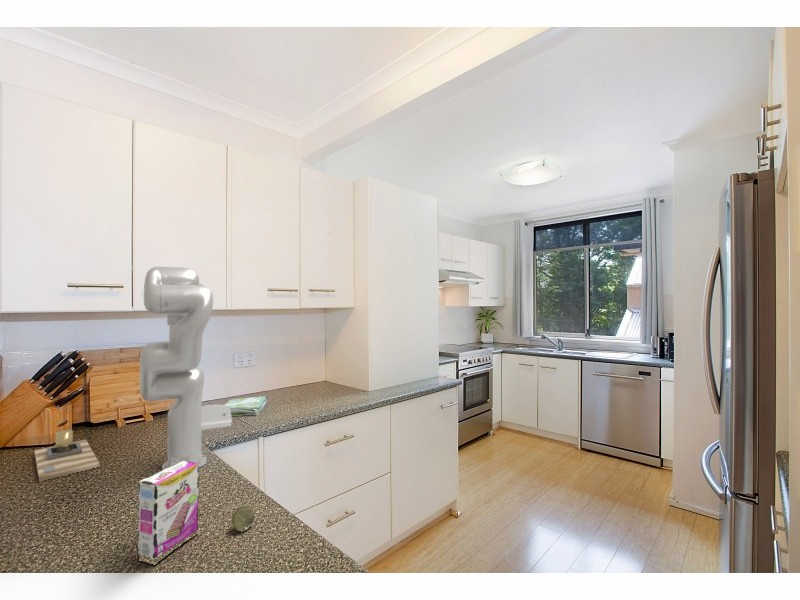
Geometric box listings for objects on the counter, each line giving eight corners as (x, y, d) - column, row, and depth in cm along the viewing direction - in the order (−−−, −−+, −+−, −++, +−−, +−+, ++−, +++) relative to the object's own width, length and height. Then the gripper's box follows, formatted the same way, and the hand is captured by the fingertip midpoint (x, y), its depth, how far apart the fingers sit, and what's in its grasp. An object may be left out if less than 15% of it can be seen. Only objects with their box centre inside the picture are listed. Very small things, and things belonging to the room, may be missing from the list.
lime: (255, 523, 91) (255, 502, 91) (248, 535, 86) (248, 513, 86) (236, 523, 91) (236, 502, 91) (228, 536, 86) (228, 513, 86)
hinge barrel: (68, 454, 129) (68, 433, 129) (52, 455, 128) (52, 434, 128) (75, 449, 133) (75, 429, 133) (60, 450, 132) (60, 430, 132)
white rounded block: (187, 431, 156) (188, 406, 159) (188, 432, 160) (189, 407, 163) (232, 426, 163) (232, 401, 166) (232, 426, 167) (232, 403, 170)
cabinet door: (99, 467, 123) (99, 458, 123) (39, 482, 113) (39, 472, 113) (86, 443, 144) (86, 435, 144) (34, 454, 134) (34, 445, 134)
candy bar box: (156, 567, 76) (155, 484, 76) (136, 562, 78) (136, 481, 78) (200, 534, 87) (199, 461, 87) (182, 530, 88) (182, 459, 88)
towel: (216, 418, 174) (216, 407, 174) (230, 406, 195) (230, 396, 195) (258, 416, 177) (258, 405, 177) (267, 404, 198) (267, 394, 198)
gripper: (196, 321, 147) (196, 365, 147) (181, 319, 159) (182, 361, 159) (174, 322, 141) (174, 368, 141) (161, 320, 154) (161, 363, 153)
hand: (178, 364), depth 150 cm, fingers open, 9 cm apart
